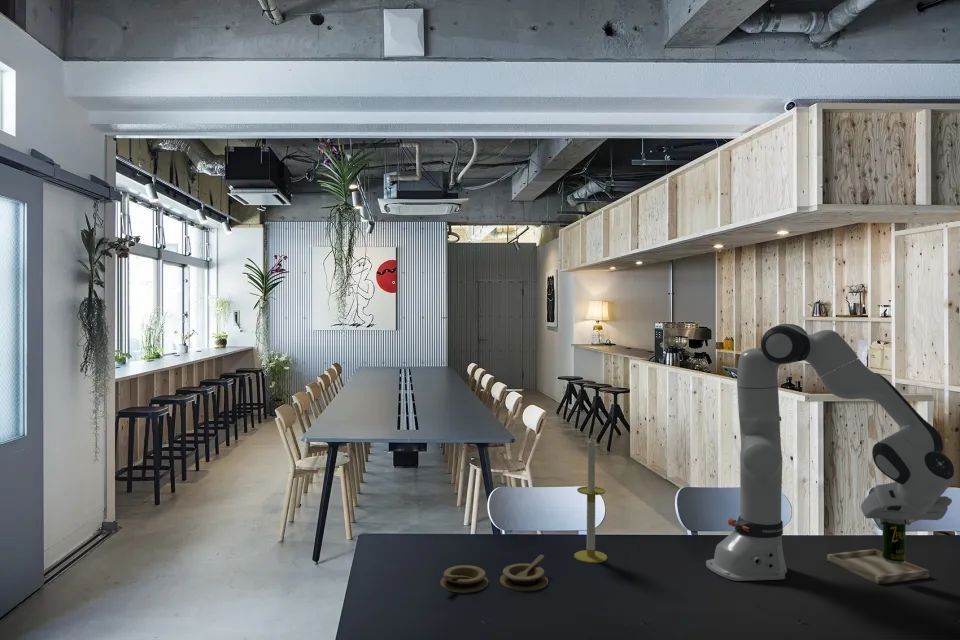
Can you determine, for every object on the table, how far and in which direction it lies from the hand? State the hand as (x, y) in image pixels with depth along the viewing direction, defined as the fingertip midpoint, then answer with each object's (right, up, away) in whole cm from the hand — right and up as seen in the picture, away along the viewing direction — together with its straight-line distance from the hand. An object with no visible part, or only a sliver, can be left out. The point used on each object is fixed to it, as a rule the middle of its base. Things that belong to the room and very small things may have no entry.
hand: (892, 522), depth 186 cm
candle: (-81, -16, +17) cm, 84 cm away
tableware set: (-111, -17, -2) cm, 112 cm away
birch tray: (+1, -16, +9) cm, 18 cm away
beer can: (0, -11, -1) cm, 11 cm away
